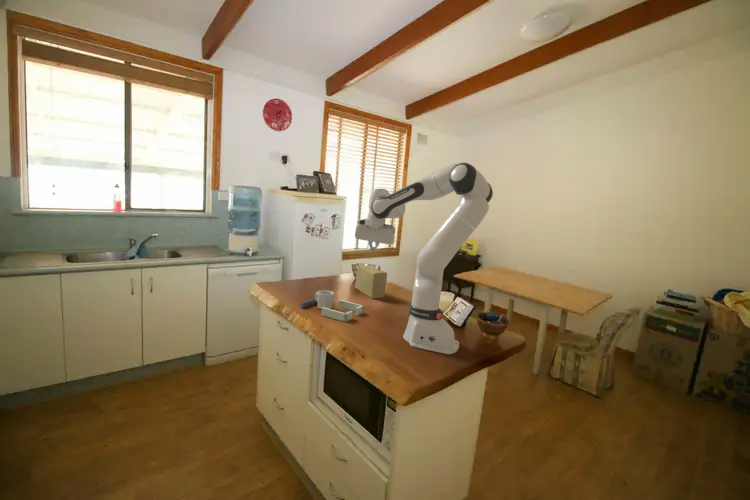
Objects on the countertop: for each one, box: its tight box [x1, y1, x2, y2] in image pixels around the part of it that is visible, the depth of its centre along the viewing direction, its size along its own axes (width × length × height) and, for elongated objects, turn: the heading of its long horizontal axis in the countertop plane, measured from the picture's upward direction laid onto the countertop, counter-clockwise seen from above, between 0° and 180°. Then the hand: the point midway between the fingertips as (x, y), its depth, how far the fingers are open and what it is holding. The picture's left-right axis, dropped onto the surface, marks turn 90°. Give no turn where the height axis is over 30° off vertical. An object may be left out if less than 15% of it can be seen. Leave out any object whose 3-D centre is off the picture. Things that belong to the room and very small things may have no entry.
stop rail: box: [300, 297, 318, 310], centre depth 169 cm, size 2×14×2 cm, turn 154°
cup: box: [314, 289, 335, 310], centre depth 167 cm, size 11×8×8 cm
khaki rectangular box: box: [354, 263, 388, 300], centre depth 200 cm, size 22×10×15 cm, turn 39°
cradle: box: [320, 299, 365, 323], centre depth 162 cm, size 13×16×4 cm
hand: (373, 250), depth 170 cm, fingers closed
